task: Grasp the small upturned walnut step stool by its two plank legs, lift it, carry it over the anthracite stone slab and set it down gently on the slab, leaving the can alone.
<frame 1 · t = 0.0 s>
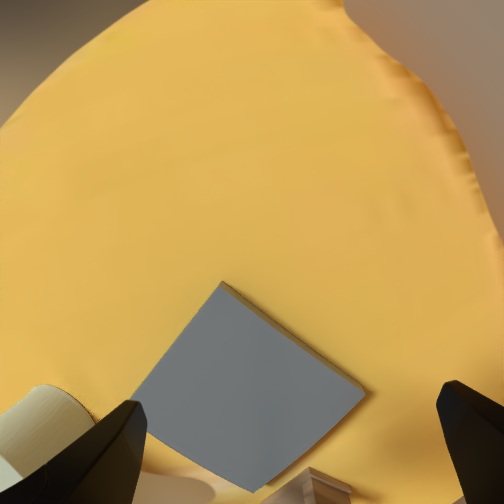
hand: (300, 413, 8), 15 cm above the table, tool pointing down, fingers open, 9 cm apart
can: (62, 421, 25), on the table
slab: (239, 399, 24), on the table
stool: (305, 494, 25), on the table
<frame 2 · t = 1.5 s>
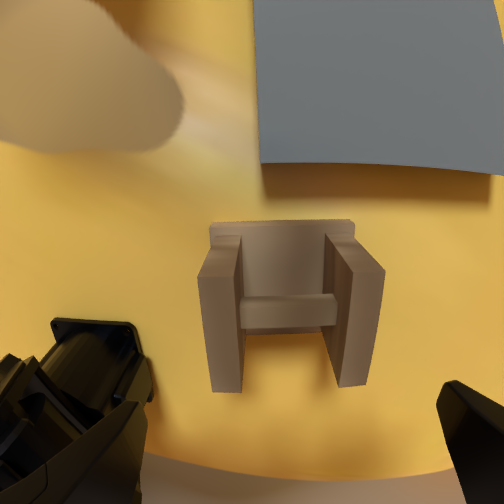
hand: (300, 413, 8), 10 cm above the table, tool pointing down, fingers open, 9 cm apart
slab: (388, 36, 13), on the table
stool: (282, 274, 17), on the table
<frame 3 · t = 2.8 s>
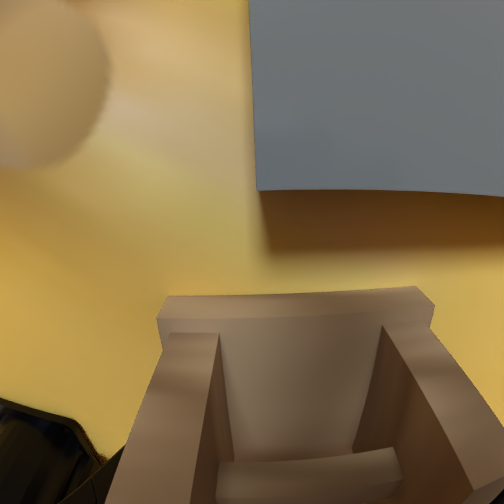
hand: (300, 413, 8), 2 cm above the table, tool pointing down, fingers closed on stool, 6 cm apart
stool: (294, 378, 9), on the table, touching gripper
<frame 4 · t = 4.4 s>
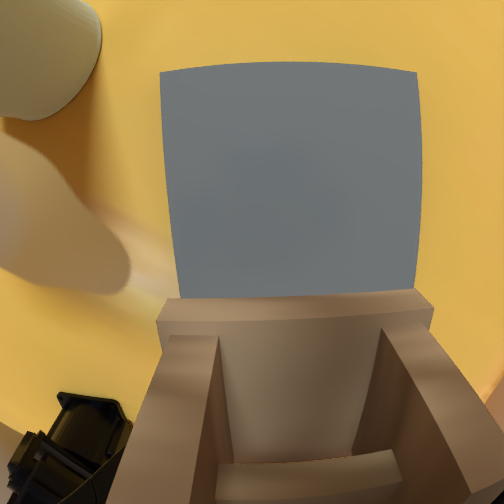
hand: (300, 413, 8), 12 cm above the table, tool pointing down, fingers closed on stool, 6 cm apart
can: (47, 57, 15), on the table
slab: (297, 189, 18), on the table
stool: (294, 380, 9), point 11 cm above the table, touching gripper
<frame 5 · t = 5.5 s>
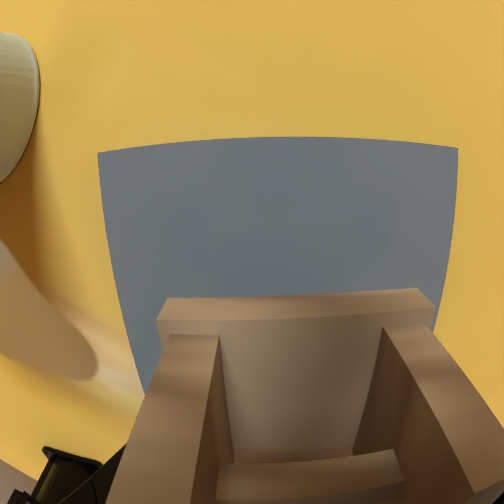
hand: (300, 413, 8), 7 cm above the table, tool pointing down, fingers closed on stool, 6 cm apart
slab: (284, 296, 15), on the table
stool: (295, 380, 9), point 6 cm above the table, touching gripper
when the fingers open (5 cm above the table, at t = 6.4 s): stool drops 2 cm, resting on slab.
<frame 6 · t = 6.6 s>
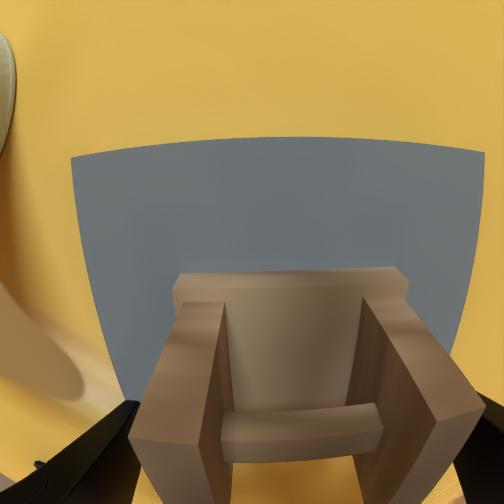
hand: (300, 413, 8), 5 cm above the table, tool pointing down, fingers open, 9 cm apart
slab: (286, 319, 13), on the table
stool: (289, 349, 11), point 2 cm above the table, touching slab
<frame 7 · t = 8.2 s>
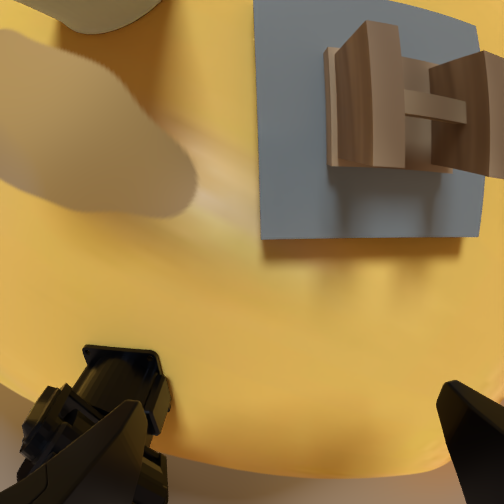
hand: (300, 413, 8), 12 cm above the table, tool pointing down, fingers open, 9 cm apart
slab: (376, 113, 16), on the table
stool: (388, 112, 15), point 2 cm above the table, touching slab
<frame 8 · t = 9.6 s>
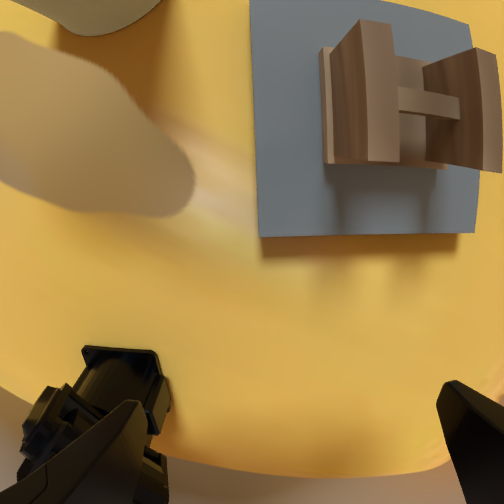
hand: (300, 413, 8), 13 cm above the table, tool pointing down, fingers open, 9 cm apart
slab: (372, 112, 17), on the table
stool: (383, 110, 15), point 2 cm above the table, touching slab
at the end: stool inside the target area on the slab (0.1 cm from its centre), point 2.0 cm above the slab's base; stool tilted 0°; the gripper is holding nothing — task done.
